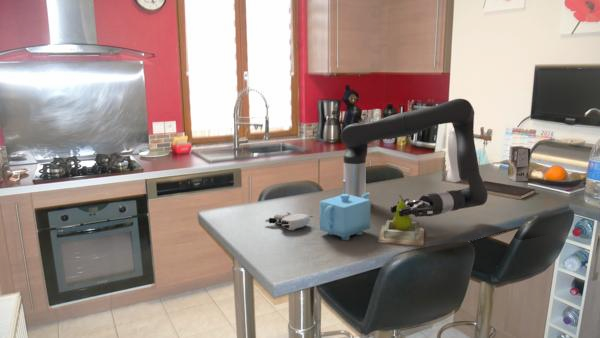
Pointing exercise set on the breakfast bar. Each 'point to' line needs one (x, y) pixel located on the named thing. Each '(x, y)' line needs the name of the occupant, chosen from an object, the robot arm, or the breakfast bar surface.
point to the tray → (402, 234)
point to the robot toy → (290, 220)
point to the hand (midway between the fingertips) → (395, 211)
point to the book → (507, 190)
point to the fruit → (401, 218)
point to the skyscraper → (451, 160)
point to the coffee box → (519, 163)
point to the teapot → (345, 215)
